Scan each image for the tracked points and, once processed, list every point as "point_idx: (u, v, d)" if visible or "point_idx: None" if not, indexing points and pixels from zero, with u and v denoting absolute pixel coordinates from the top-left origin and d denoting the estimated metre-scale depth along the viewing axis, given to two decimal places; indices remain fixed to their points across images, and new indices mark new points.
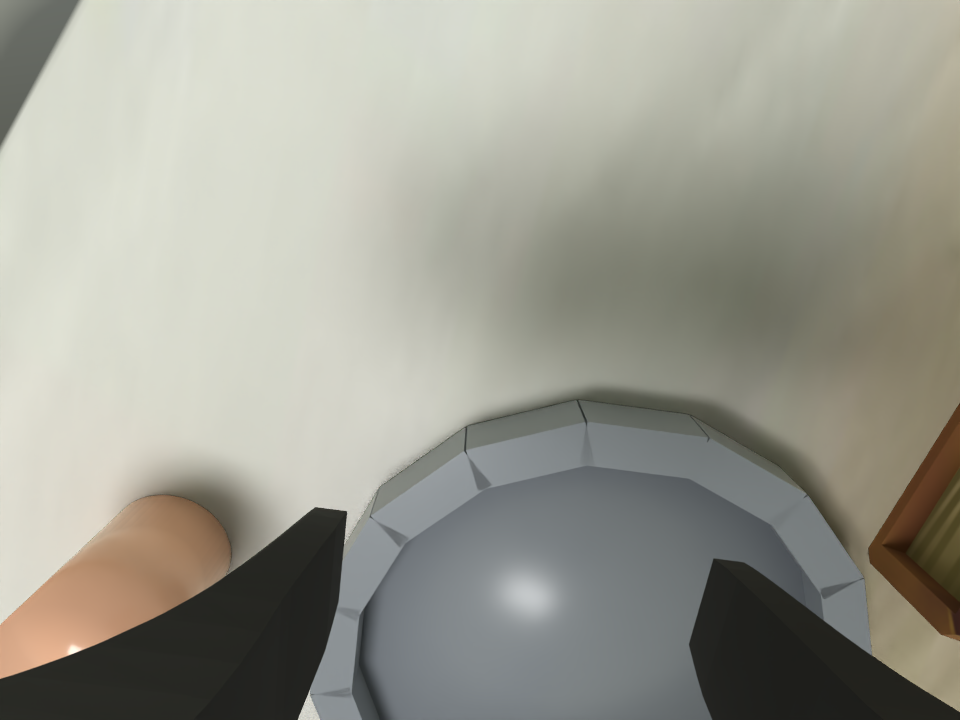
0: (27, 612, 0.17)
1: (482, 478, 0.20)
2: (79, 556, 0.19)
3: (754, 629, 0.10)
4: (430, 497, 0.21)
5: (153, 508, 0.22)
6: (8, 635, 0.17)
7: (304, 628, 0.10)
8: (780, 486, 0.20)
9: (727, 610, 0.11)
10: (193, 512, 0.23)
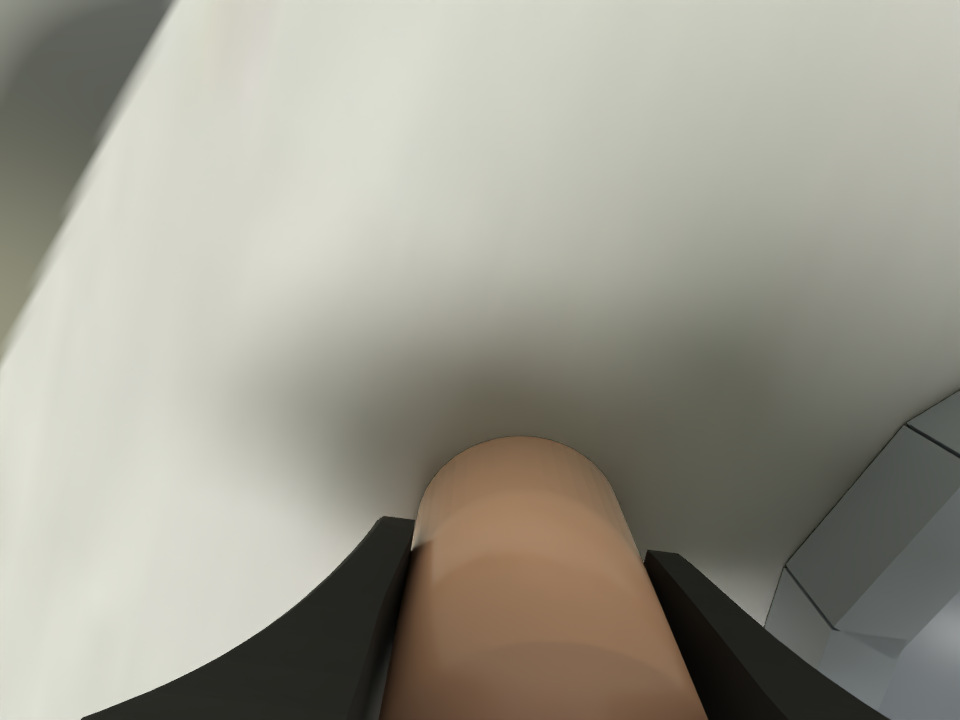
0: (482, 661, 0.07)
1: None
2: (480, 538, 0.10)
3: (677, 619, 0.10)
4: None
5: (530, 455, 0.12)
6: (426, 711, 0.08)
7: (387, 638, 0.10)
8: None
9: None
10: (585, 465, 0.13)
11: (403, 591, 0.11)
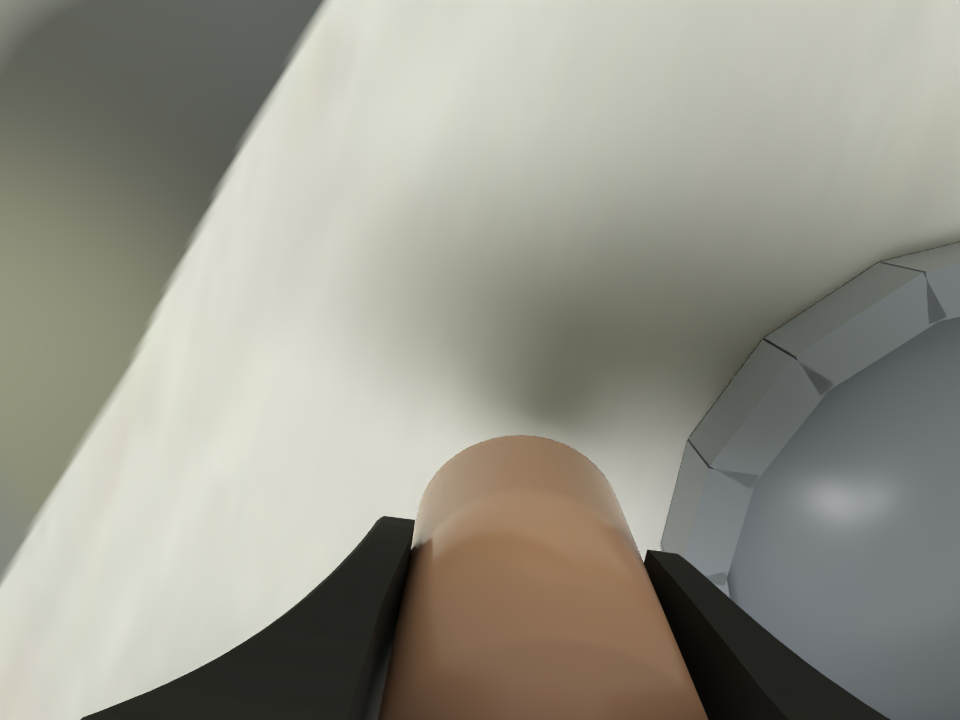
0: (482, 660, 0.07)
1: (937, 308, 0.17)
2: (480, 537, 0.10)
3: (677, 619, 0.10)
4: (870, 332, 0.17)
5: (530, 455, 0.12)
6: (426, 709, 0.08)
7: (387, 638, 0.10)
8: None
9: None
10: (585, 465, 0.13)
11: (403, 590, 0.11)
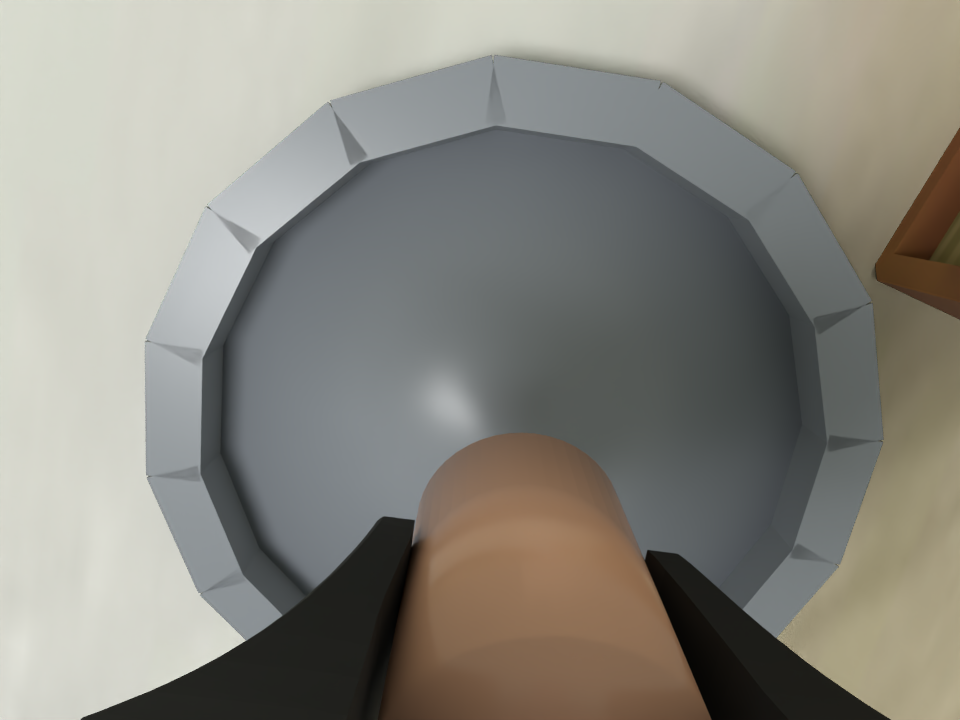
0: (483, 657, 0.07)
1: (355, 145, 0.15)
2: (480, 534, 0.10)
3: (677, 620, 0.10)
4: (286, 175, 0.15)
5: (531, 452, 0.12)
6: (426, 706, 0.08)
7: (387, 638, 0.10)
8: (759, 159, 0.15)
9: None
10: (585, 462, 0.13)
11: (403, 587, 0.11)
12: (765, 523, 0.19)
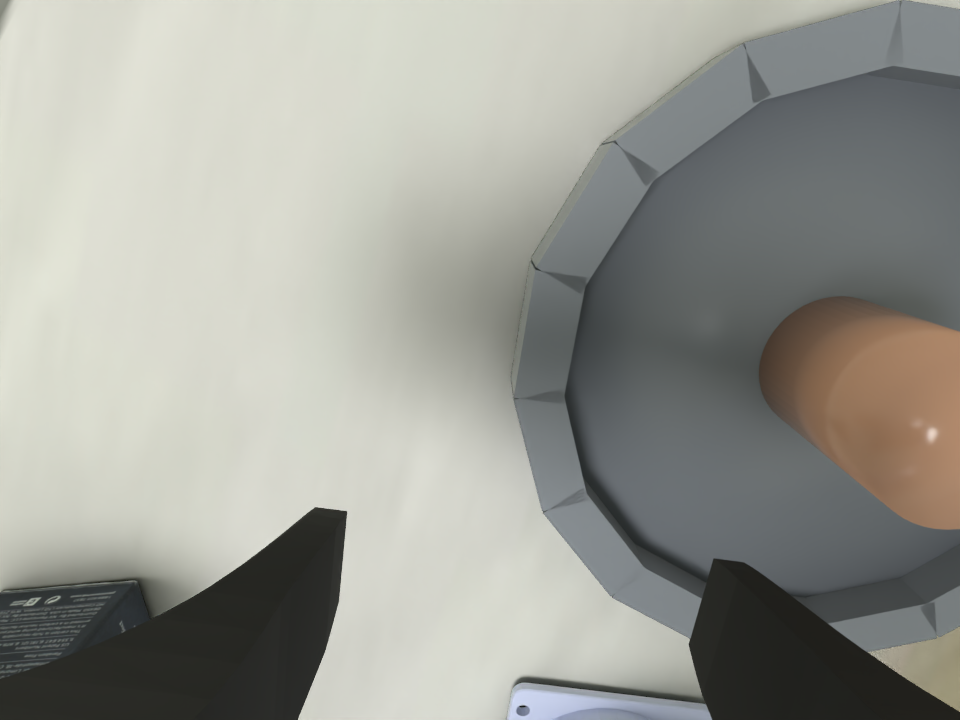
0: (953, 360, 0.14)
1: (760, 84, 0.16)
2: (884, 328, 0.16)
3: (754, 629, 0.10)
4: (692, 113, 0.17)
5: (864, 302, 0.18)
6: (914, 392, 0.14)
7: (304, 628, 0.10)
8: None
9: (727, 610, 0.11)
10: None
11: (813, 374, 0.17)
12: None
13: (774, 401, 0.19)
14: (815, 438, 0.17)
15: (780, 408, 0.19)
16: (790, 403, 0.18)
